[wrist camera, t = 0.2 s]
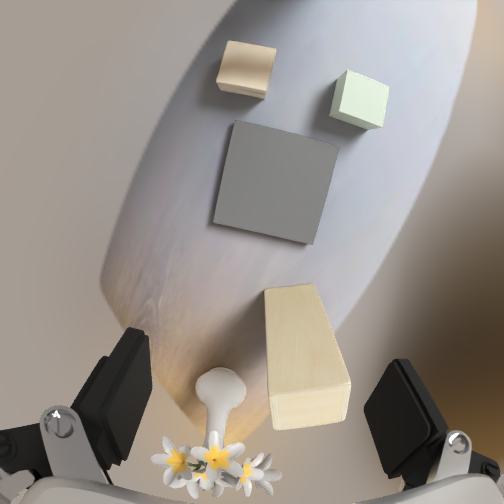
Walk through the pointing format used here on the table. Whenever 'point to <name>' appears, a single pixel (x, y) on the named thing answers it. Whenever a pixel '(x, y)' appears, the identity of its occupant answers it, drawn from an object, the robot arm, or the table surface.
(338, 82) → the sage block
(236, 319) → the table surface
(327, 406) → the toy refrigerator
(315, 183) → the base plate
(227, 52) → the birch block
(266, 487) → the flower vase
